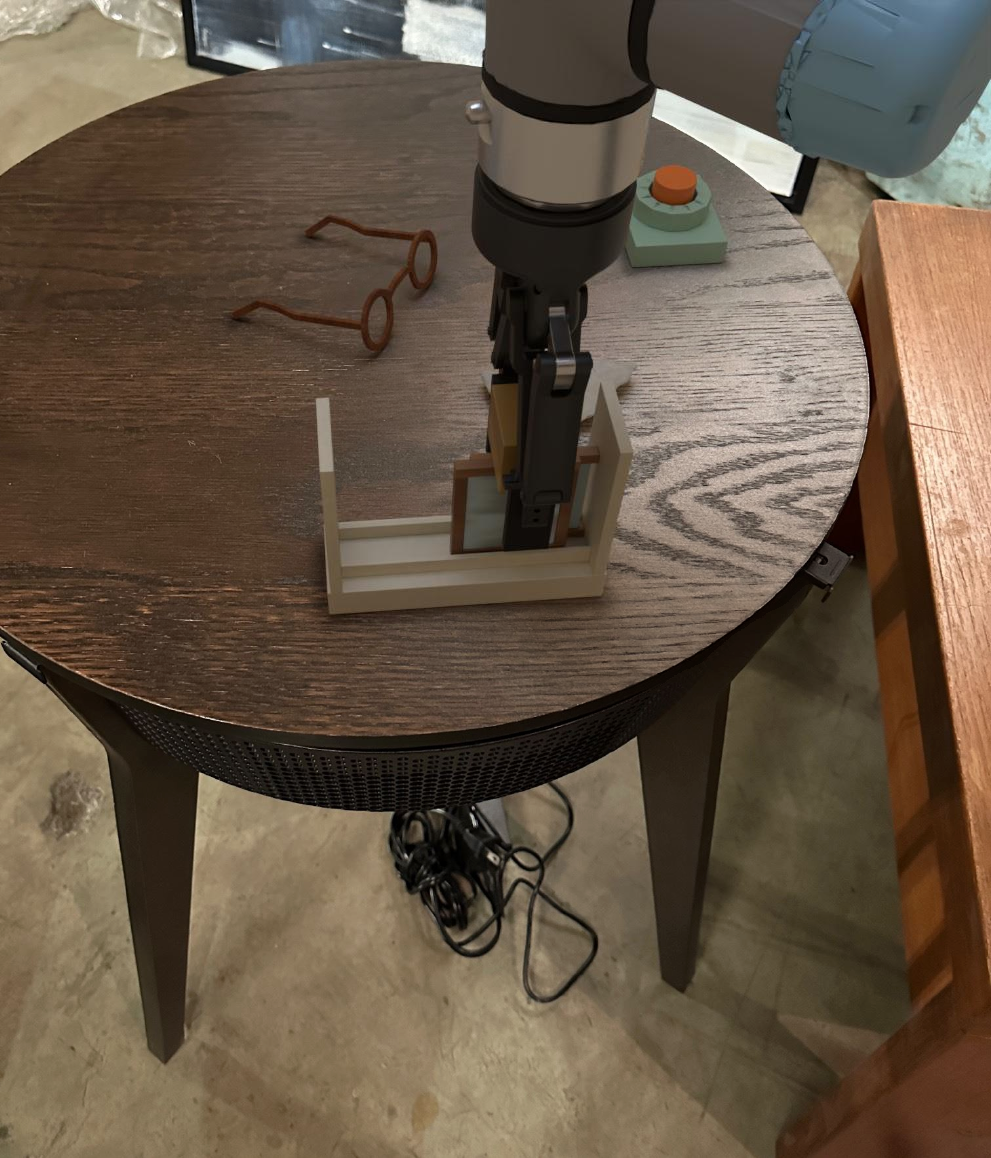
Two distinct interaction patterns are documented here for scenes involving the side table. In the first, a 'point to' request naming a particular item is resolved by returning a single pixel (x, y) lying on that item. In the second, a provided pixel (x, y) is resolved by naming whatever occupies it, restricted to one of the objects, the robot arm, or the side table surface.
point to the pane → (494, 485)
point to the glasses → (384, 293)
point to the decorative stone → (590, 381)
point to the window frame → (437, 579)
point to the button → (674, 185)
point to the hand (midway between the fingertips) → (515, 497)
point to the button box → (674, 229)
